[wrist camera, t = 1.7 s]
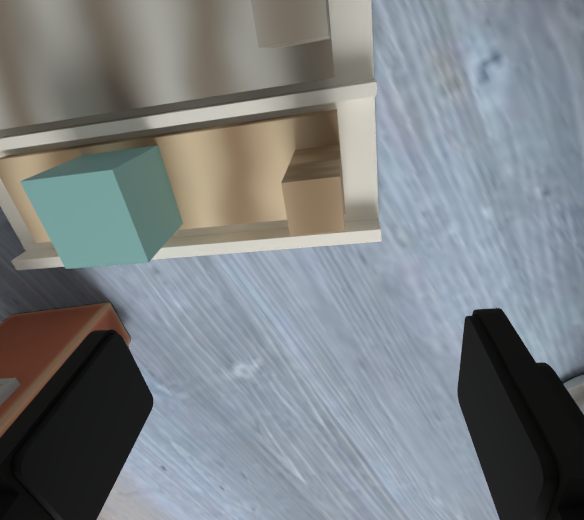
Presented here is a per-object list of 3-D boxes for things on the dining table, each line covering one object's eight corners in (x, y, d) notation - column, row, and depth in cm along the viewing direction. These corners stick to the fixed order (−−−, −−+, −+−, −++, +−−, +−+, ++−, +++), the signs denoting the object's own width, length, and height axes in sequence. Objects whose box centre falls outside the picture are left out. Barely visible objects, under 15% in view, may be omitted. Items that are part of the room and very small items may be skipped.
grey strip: (323, -65, 20) (314, -131, 13) (334, 75, 23) (333, 88, 16) (-64, 21, 24) (-237, 9, 17) (-7, 129, 28) (-131, 158, 20)
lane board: (365, -127, 20) (369, -154, 17) (377, 224, 30) (381, 241, 27) (-107, -11, 25) (-158, -18, 22) (40, 254, 35) (16, 270, 33)
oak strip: (337, 108, 24) (336, 134, 17) (345, 206, 28) (347, 263, 20) (7, 155, 29) (-107, 192, 21) (48, 234, 32) (-38, 290, 25)
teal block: (158, 145, 25) (112, 169, 20) (183, 223, 28) (148, 262, 23) (81, 155, 26) (19, 181, 21) (113, 230, 29) (65, 268, 24)
